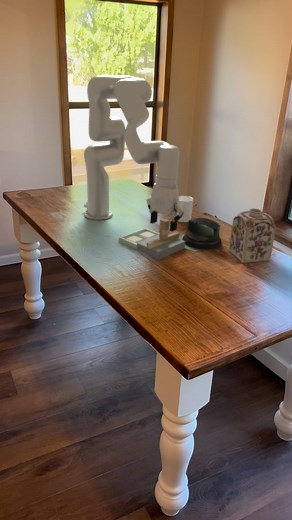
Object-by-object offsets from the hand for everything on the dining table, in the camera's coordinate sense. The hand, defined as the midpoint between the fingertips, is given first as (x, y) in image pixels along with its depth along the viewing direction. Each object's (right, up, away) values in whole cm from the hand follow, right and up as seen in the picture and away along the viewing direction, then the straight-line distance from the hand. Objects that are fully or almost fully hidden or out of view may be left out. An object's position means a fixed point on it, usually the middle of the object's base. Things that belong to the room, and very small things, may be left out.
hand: (163, 226), depth 157 cm
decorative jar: (+32, -11, +2) cm, 34 cm away
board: (-1, -8, +4) cm, 9 cm away
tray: (-8, -5, +11) cm, 14 cm away
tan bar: (0, -6, +2) cm, 6 cm away
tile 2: (-6, -2, +12) cm, 14 cm away
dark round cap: (+16, -6, +12) cm, 21 cm away
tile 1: (-11, -4, +8) cm, 14 cm away
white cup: (+10, +6, +34) cm, 36 cm away
